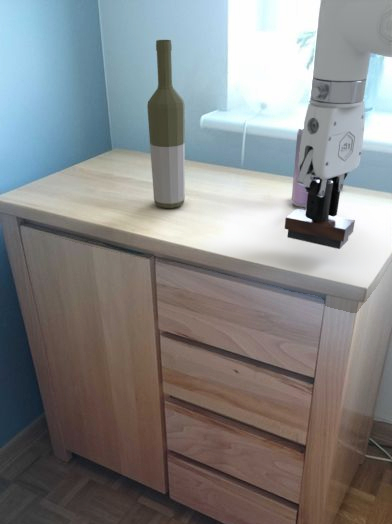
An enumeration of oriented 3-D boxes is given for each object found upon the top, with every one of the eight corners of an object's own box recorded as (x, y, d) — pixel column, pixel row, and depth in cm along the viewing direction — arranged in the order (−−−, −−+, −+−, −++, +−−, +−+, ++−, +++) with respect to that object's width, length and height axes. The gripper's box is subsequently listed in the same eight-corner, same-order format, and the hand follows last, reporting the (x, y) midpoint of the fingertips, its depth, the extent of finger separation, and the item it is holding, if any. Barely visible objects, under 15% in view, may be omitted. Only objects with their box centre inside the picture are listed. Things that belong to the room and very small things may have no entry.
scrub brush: (351, 240, 91) (361, 182, 86) (342, 250, 88) (351, 191, 82) (294, 228, 95) (300, 172, 90) (283, 237, 92) (288, 180, 87)
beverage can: (324, 201, 117) (333, 125, 108) (313, 210, 112) (322, 132, 104) (298, 196, 119) (305, 122, 111) (286, 204, 115) (292, 128, 107)
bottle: (193, 205, 115) (191, 40, 99) (165, 213, 112) (158, 43, 95) (173, 196, 120) (168, 37, 103) (146, 203, 117) (136, 40, 100)
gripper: (323, 103, 72) (307, 237, 82) (391, 88, 81) (369, 210, 91) (279, 95, 77) (269, 223, 87) (348, 82, 86) (332, 199, 96)
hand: (321, 215), depth 89 cm, fingers closed on scrub brush, 2 cm apart
